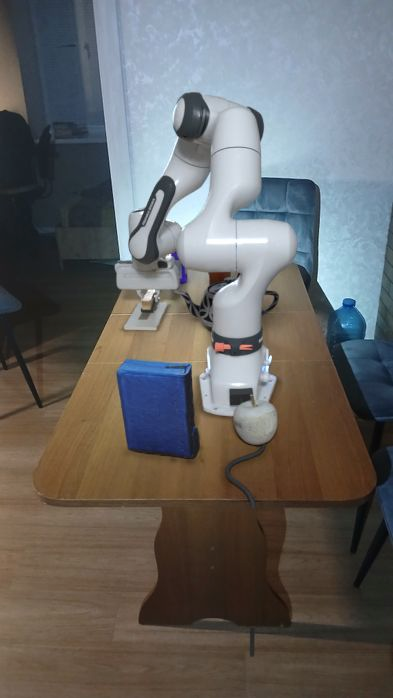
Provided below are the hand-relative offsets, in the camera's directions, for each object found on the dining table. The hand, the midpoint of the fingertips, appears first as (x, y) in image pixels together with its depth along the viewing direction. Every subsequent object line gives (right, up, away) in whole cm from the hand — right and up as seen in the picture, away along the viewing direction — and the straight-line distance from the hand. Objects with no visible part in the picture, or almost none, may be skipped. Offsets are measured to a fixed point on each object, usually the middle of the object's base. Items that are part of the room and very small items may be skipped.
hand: (149, 301), depth 164 cm
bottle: (+9, +10, +26) cm, 29 cm away
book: (+9, -36, -63) cm, 73 cm away
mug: (+25, +3, +11) cm, 28 cm away
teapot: (+24, -9, -12) cm, 29 cm away
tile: (0, -5, -3) cm, 6 cm away
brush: (0, -2, +1) cm, 2 cm away
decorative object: (+27, -34, -62) cm, 75 cm away
